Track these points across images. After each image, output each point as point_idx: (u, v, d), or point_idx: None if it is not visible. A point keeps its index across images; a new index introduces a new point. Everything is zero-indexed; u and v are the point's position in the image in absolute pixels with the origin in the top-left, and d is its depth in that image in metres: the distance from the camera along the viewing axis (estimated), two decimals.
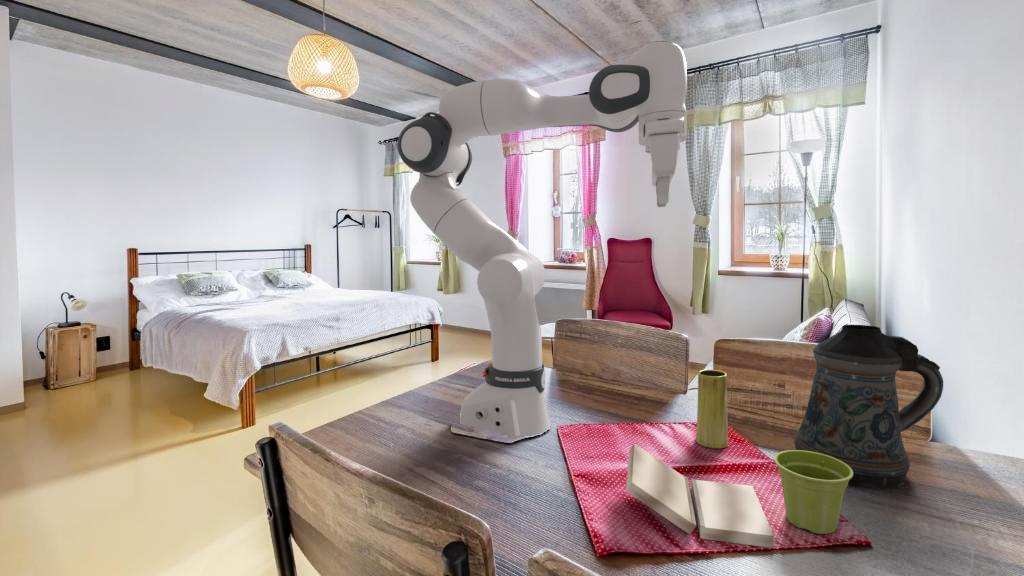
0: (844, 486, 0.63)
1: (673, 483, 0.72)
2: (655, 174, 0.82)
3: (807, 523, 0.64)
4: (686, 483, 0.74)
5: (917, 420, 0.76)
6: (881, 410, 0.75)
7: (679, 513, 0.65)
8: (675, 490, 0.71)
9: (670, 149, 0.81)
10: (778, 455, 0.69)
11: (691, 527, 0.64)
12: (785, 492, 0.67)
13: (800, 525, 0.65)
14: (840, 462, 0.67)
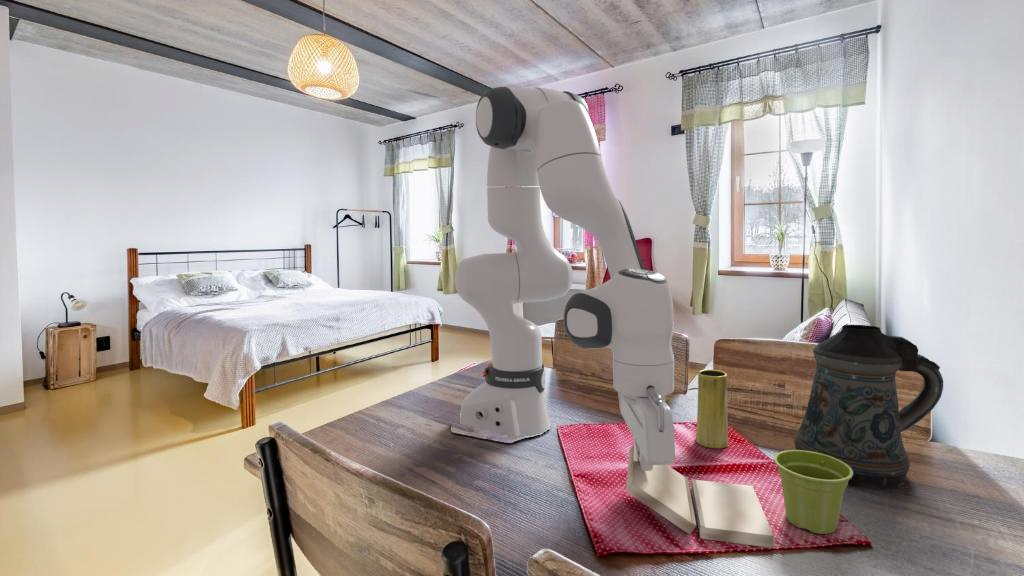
0: (844, 486, 0.63)
1: (673, 483, 0.72)
2: None
3: (807, 523, 0.64)
4: (686, 483, 0.74)
5: (917, 420, 0.76)
6: (881, 410, 0.75)
7: (679, 513, 0.65)
8: (675, 490, 0.71)
9: None
10: (778, 455, 0.69)
11: (691, 527, 0.64)
12: (785, 492, 0.67)
13: (800, 525, 0.65)
14: (840, 462, 0.67)
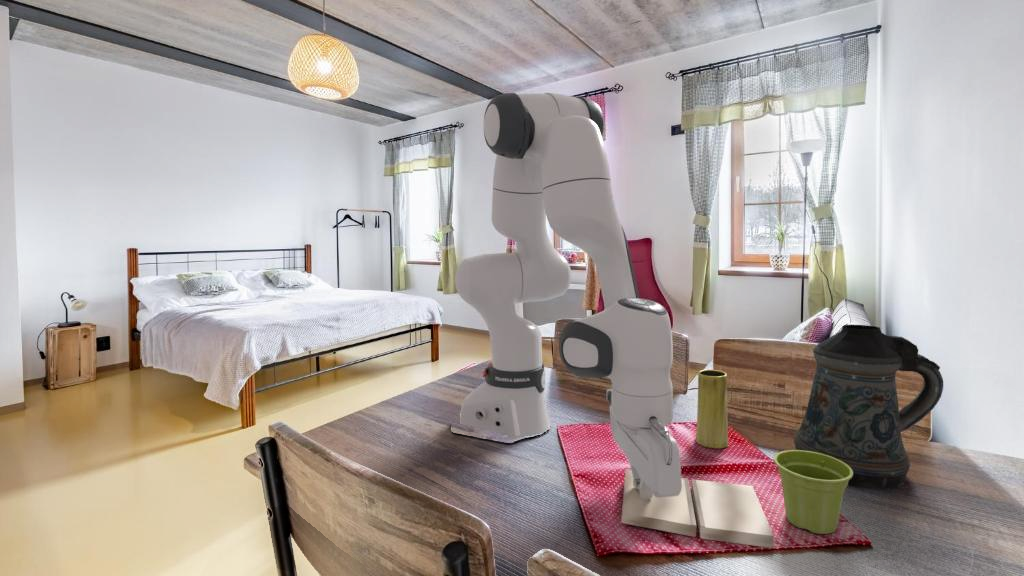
0: (844, 486, 0.63)
1: None
2: None
3: (807, 523, 0.64)
4: (686, 484, 0.75)
5: (917, 420, 0.76)
6: (881, 410, 0.75)
7: (677, 521, 0.65)
8: (673, 497, 0.71)
9: None
10: (778, 455, 0.69)
11: (693, 529, 0.64)
12: (785, 492, 0.67)
13: (800, 525, 0.65)
14: (840, 462, 0.67)
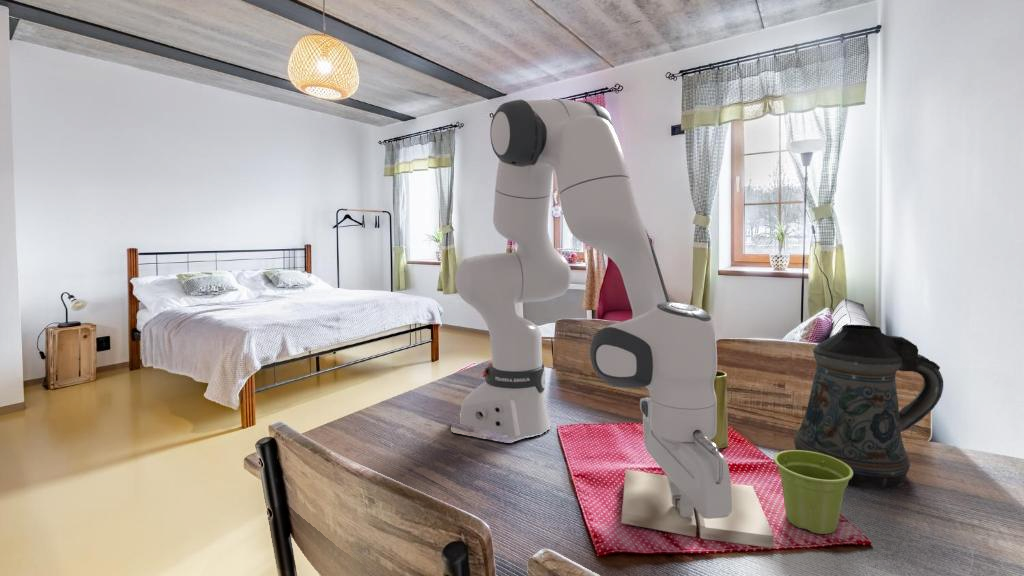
0: (844, 486, 0.63)
1: None
2: None
3: (807, 523, 0.64)
4: None
5: (917, 420, 0.76)
6: (881, 410, 0.75)
7: (677, 521, 0.65)
8: None
9: None
10: (778, 455, 0.69)
11: (693, 529, 0.64)
12: (785, 492, 0.67)
13: (800, 525, 0.65)
14: (840, 462, 0.67)
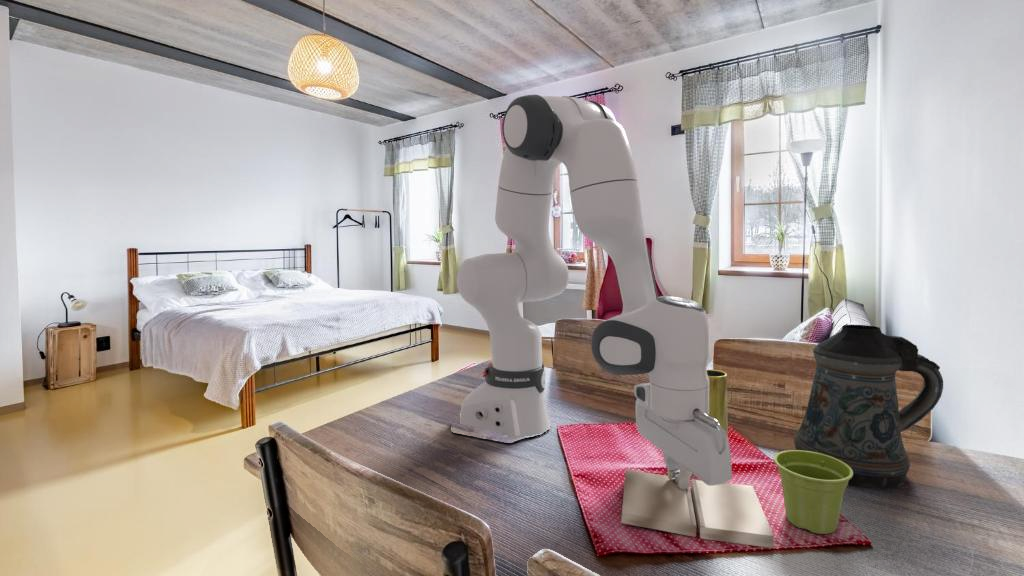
0: (844, 486, 0.63)
1: (671, 491, 0.72)
2: None
3: (807, 523, 0.64)
4: None
5: (917, 420, 0.76)
6: (881, 410, 0.75)
7: (677, 521, 0.65)
8: (673, 497, 0.71)
9: None
10: (778, 455, 0.69)
11: (693, 529, 0.64)
12: (785, 492, 0.67)
13: (800, 525, 0.65)
14: (840, 462, 0.67)
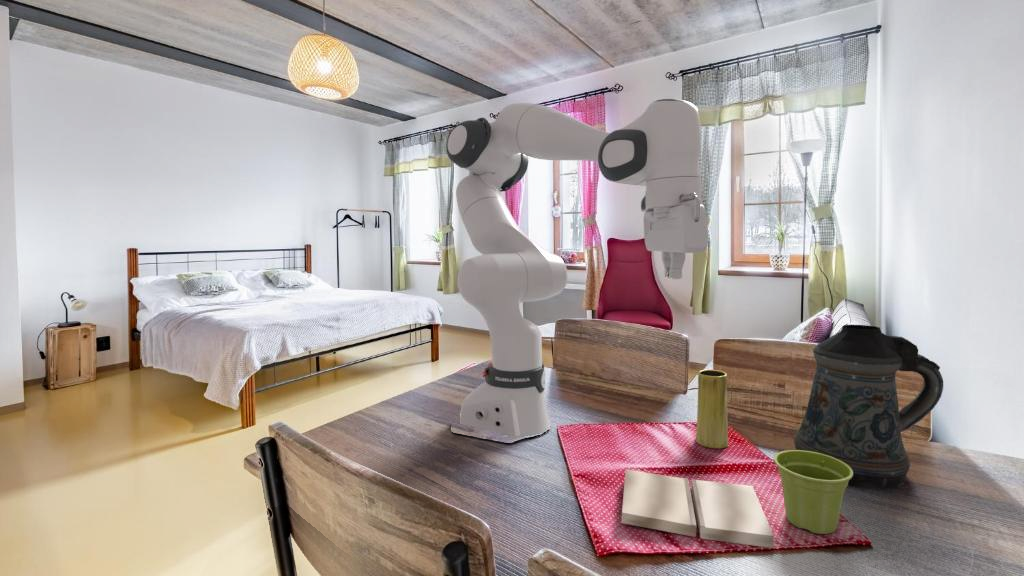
0: (844, 486, 0.63)
1: (671, 491, 0.72)
2: None
3: (807, 523, 0.64)
4: (686, 484, 0.75)
5: (917, 420, 0.76)
6: (881, 410, 0.75)
7: (677, 521, 0.65)
8: (673, 497, 0.71)
9: None
10: (778, 455, 0.69)
11: (693, 529, 0.64)
12: (785, 492, 0.67)
13: (800, 525, 0.65)
14: (840, 462, 0.67)
